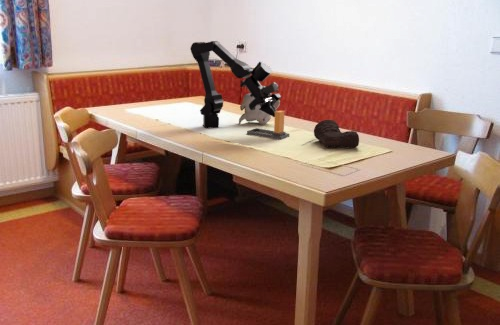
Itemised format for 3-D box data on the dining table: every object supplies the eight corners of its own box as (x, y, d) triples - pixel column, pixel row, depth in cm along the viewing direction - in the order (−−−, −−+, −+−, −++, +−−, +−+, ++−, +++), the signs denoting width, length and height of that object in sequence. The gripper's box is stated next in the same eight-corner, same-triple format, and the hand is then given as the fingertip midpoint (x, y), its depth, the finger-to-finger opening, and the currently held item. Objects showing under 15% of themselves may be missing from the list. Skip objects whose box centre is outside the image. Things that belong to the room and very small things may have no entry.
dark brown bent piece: (361, 131, 191) (348, 117, 205) (324, 134, 189) (314, 120, 202) (358, 153, 196) (346, 138, 209) (323, 156, 194) (312, 141, 207)
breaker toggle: (271, 136, 207) (273, 111, 204) (277, 135, 211) (278, 110, 208) (280, 138, 205) (281, 112, 202) (285, 136, 209) (286, 111, 206)
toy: (237, 126, 232) (278, 127, 228) (236, 94, 228) (278, 95, 224) (241, 122, 240) (281, 124, 236) (240, 91, 236) (281, 92, 232)
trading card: (343, 175, 160) (300, 164, 172) (343, 177, 160) (300, 165, 172) (360, 169, 168) (318, 158, 180) (360, 170, 168) (317, 160, 180)
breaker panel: (243, 136, 211) (243, 131, 210) (257, 131, 220) (257, 127, 220) (279, 142, 201) (279, 138, 201) (292, 137, 211) (292, 132, 211)
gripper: (255, 78, 197) (278, 108, 194) (278, 74, 212) (299, 102, 209) (239, 95, 203) (260, 124, 200) (262, 90, 218) (282, 118, 215)
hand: (276, 117), depth 206 cm, fingers closed, pressing on breaker toggle
